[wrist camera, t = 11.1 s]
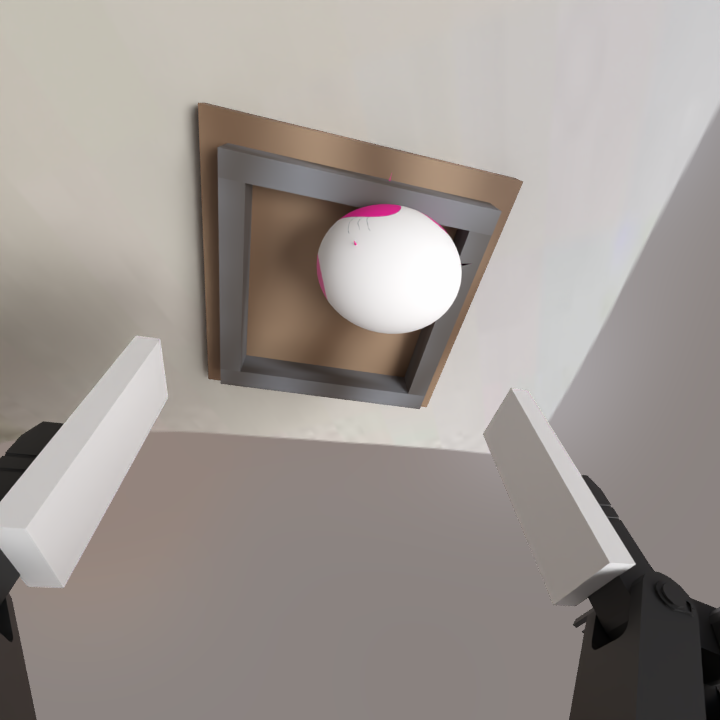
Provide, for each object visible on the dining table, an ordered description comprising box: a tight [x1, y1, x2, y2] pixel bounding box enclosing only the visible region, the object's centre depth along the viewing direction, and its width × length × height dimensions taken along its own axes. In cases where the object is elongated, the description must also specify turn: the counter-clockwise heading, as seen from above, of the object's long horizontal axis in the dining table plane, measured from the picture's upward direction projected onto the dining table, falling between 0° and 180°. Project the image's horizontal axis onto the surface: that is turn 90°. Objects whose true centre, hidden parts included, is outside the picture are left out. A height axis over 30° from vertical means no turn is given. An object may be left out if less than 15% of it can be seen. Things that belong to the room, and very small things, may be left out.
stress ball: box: [317, 174, 468, 334], centre depth 18 cm, size 8×8×7 cm
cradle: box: [198, 103, 523, 409], centre depth 22 cm, size 16×16×3 cm
